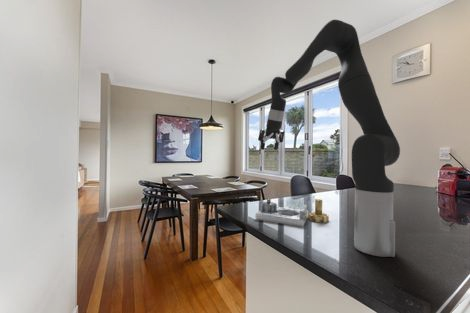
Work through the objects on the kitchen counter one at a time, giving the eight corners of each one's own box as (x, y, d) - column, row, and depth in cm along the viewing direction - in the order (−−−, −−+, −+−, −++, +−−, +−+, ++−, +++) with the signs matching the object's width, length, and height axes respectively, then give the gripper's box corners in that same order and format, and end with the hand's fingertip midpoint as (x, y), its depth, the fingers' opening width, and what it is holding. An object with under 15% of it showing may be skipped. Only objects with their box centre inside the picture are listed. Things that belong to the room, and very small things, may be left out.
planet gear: (328, 218, 90) (329, 199, 90) (328, 223, 83) (328, 202, 83) (309, 216, 93) (309, 197, 93) (307, 220, 86) (307, 200, 86)
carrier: (308, 216, 93) (308, 199, 93) (303, 226, 78) (303, 207, 78) (266, 210, 101) (266, 195, 101) (254, 219, 87) (255, 201, 87)
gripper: (267, 119, 99) (261, 151, 104) (290, 121, 106) (283, 151, 111) (259, 116, 106) (253, 147, 111) (281, 118, 112) (275, 147, 117)
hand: (268, 149), depth 111 cm, fingers open, 8 cm apart
